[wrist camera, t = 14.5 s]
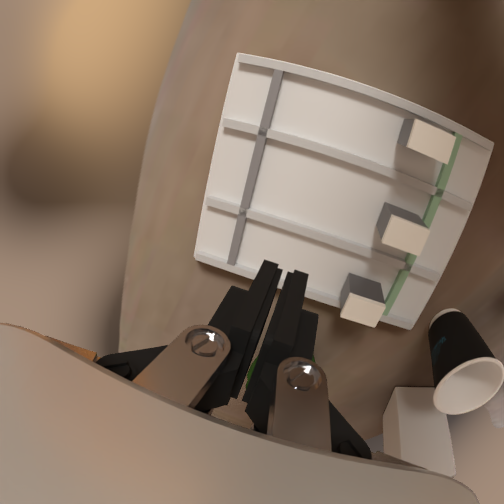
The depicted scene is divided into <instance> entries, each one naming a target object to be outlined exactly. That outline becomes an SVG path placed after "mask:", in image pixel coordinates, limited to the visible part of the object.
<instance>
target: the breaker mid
mask: <svg viewBox="0 0 504 504" xmlns="http://www.w3.org/2000/svg"><path fill="white" fill-rule="evenodd" d="M376 226H377V229H378V232H379V235H380V238H381V241H382V243H384V244H387V245H389V246H392V247H395V248H398V249H400V250H403V251H406V252H408V253H411V254H414V255H417V256H420V254H421V252H422V250H423V247H424V245H425V243H426V241H427V238H428V236H429V234H430V230H429V228H428V227H427V226H426V224H425V223H424V222H423V221H422V219H421V218H420V217H419V215H417V214H415V213H412V212H410V211H407V210H405V209H402V208H400V207H397V206H394V205H392V204H389V203H386V202H384V205H383V208H382V210H381V213H380V216H379V218H378V221H377V223H376Z"/></svg>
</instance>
